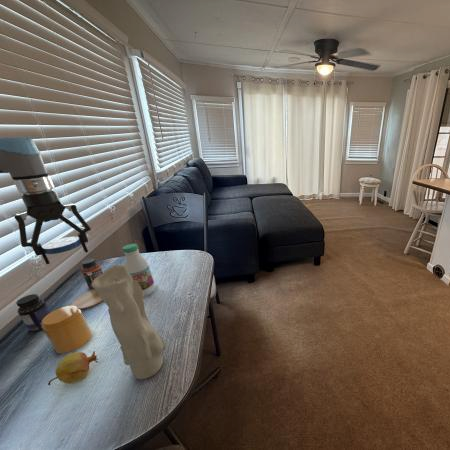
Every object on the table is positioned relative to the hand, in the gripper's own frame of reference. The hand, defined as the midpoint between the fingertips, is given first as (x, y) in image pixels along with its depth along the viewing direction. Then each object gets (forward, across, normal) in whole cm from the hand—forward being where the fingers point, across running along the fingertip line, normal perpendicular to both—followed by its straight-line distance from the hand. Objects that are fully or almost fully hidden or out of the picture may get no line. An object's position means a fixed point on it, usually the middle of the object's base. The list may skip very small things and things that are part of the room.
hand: (67, 256), depth 80 cm
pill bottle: (+20, -12, 0) cm, 24 cm away
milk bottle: (+20, +16, -8) cm, 27 cm away
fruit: (+20, -8, -33) cm, 40 cm away
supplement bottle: (+20, +5, +13) cm, 25 cm away
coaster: (+20, +1, +4) cm, 21 cm away
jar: (+20, -7, -18) cm, 28 cm away
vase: (+20, +5, -46) cm, 50 cm away
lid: (-5, 0, 0) cm, 5 cm away
